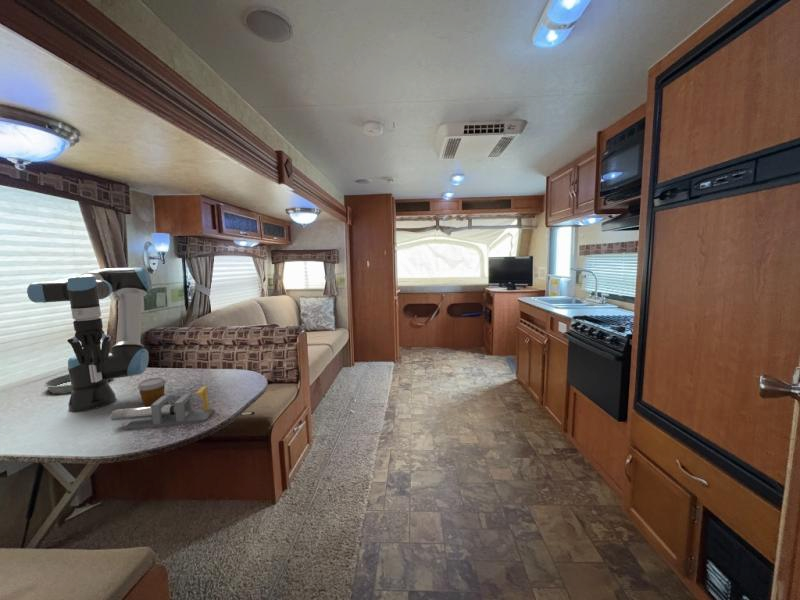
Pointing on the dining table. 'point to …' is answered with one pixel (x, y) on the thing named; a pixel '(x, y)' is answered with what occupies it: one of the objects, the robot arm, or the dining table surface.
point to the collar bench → (169, 420)
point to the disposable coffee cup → (151, 390)
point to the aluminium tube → (141, 412)
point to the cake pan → (57, 381)
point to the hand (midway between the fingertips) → (96, 380)
